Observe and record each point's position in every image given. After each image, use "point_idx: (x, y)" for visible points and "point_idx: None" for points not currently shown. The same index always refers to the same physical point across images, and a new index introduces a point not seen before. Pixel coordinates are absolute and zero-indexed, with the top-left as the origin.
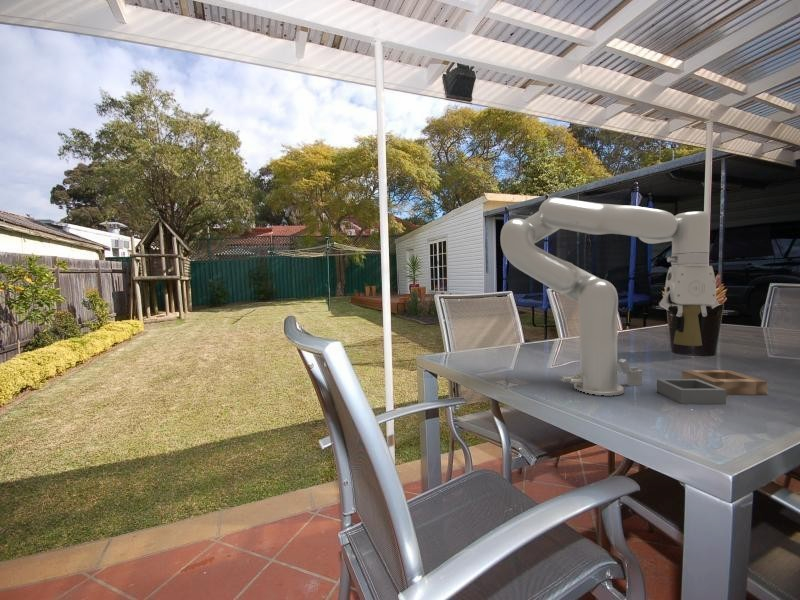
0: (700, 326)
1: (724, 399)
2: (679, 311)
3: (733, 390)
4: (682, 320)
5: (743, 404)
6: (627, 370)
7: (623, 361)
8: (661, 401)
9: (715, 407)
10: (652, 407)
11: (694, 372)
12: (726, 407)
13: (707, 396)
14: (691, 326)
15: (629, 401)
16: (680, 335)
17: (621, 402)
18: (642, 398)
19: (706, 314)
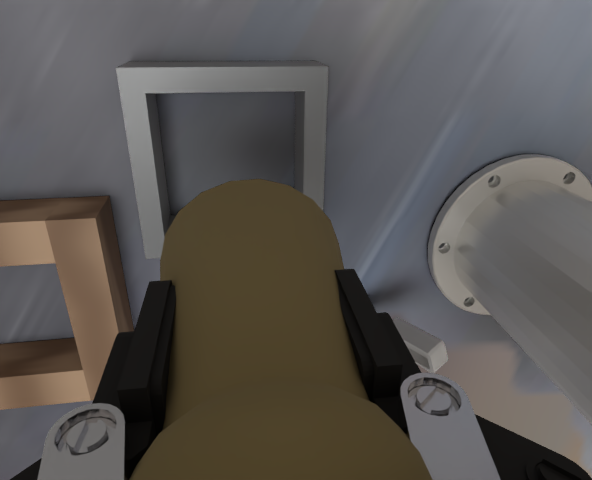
0: (166, 314)
1: (132, 63)
2: (453, 432)
3: (16, 206)
4: (377, 336)
5: (55, 56)
6: (400, 324)
7: (437, 345)
8: (370, 94)
9: (202, 9)
10: (455, 9)
11: (97, 365)
12: (155, 9)
13: (207, 64)
14: (285, 276)
15: (489, 92)
16: (339, 264)
17: (526, 78)
18: (417, 134)
19: (56, 433)
